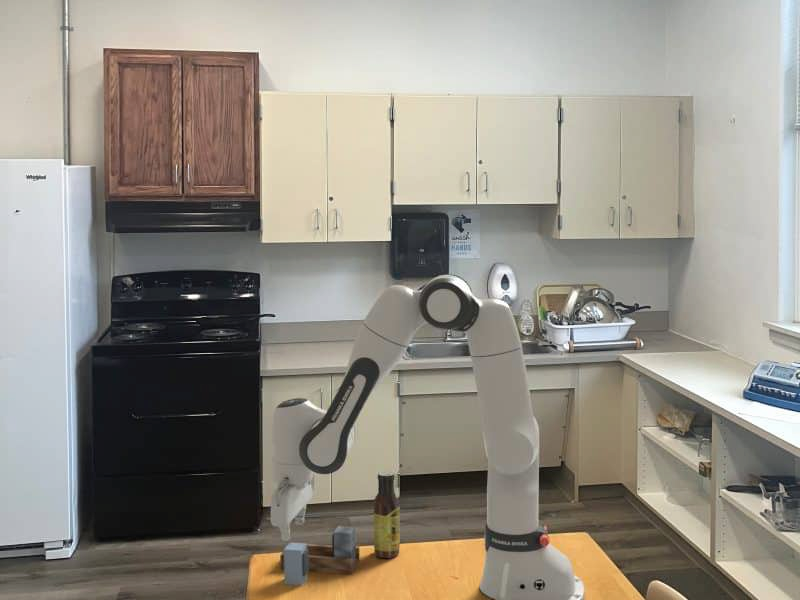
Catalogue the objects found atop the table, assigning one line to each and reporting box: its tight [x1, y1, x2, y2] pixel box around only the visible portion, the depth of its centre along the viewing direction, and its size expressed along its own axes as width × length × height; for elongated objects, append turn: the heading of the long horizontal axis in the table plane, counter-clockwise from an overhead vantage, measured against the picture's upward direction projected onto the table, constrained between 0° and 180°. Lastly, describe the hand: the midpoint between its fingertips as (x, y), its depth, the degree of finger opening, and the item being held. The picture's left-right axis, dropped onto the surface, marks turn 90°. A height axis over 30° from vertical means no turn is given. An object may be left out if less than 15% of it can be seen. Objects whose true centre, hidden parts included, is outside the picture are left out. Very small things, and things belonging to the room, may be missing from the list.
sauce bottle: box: [372, 470, 401, 559], centre depth 209 cm, size 6×6×20 cm
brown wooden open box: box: [279, 525, 361, 575], centre depth 204 cm, size 17×8×9 cm, turn 79°
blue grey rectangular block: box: [283, 542, 310, 586], centre depth 196 cm, size 5×4×8 cm
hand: (293, 531), depth 195 cm, fingers open, 8 cm apart
